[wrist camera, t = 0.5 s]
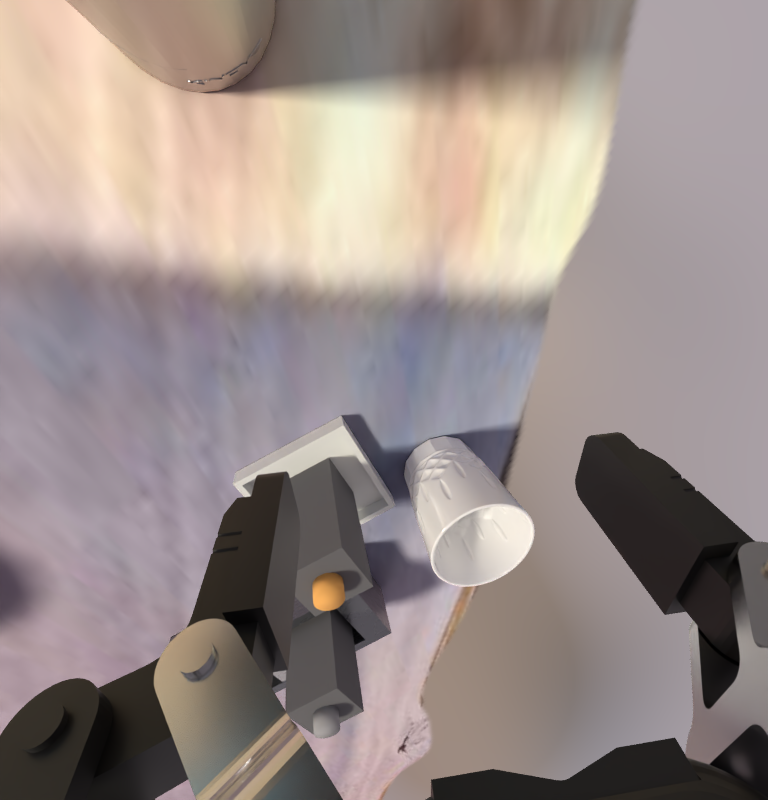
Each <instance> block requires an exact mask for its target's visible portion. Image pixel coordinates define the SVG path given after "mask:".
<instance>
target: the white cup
mask: <svg viewBox="0 0 768 800" xmlns="http://www.w3.org/2000/svg"><path fill="white" fill-rule="evenodd" d="M404 478H405V481H406V483H407V486H408V489H409V493H410V497H411V502H412V506H413V510H414V513H415V517H416V520H417V523H418V526H419V529H420V532H421V535H422V538H423V541H424V544H425V547H426V550H427V553H428V556H429V559H430V562H431V565H432V568H433V570H434V572H435V574H436V575H437V576H438V577H439V578H440V579H441V580H443V581H444V582H446V583H449V584H452V585H455V586H464V587H468V586H477V585H482V584H486V583H489V582H491V581H494V580H496V579H498V578H500V577H502V576H504V575H505V574H507V573H508V572H510V571H511V570H512V569H514V568H515V567H516V566H517V565H518V564H519V563H520V562H521V561H522V560H523V559H524V557H525V556H526V555H527V553H528V552H529V550H530V548H531V546H532V543H533V540H534V535H535V528H534V523H533V521H532V519H531V517H530V516H529V514H528V513H527V512H526V511H525V510H524V509H523V507H522V506H521V505H520V504H519V503H518V502H517V500H516V499H515V498H514V497H513V496H512V495H511V493H510V492H509V491H508V490H507V489H506V487H505V486H504V485H503V484H502V483H501V482H500V480H499V479H498V478H497V477H496V476H495V475H494V473H493V472H492V471H491V470H490V469H489V468H488V467H487V466H486V465H485V464H484V462H483V461H482V460H481V459H480V458H479V457H477V456H476V455H475V454H474V452H473V451H472V450H471V449H470V448H469V447H468V446H467V445H466V444H465V443H463V442H462V441H461V440H460V439H457V438H452V437H447V436H442V437H438V438H433V439H429V440H427V441H426V442H424V443H423V444H421V445H420V446H418V447H417V448H415V449H414V451H413V452H412V453H411V455H410V456H409V458H408V459H407V461H406V464H405V471H404Z"/></svg>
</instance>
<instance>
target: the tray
mask: <svg viewBox="0 0 768 800" xmlns="http://www.w3.org/2000/svg"><path fill="white" fill-rule="evenodd" d="M327 458H330V460H331V461H332V462H333V464H334V465H335V467H336V468H337V470H338V471H339V472H340V474H341V475H342V477H343V478H344V479H345V481H346V482H347V484H348V485H349V487H350V488H351V489H352V491H353V493H354V497H355V502H356V507H357V511H358V516H359V521H360V525H361V524H363V523H365V522H367V521H369V520H371V519H372V518H374V517H376V516H378V515H380V514H382V513H384V512H386V511H388V510H390V509H391V508H393V507H395V506H396V505H395V503H394V500H393V497H392V494H391V493H390V491H389V490H388V488H387V486H386V485H385V483H384V482H383V480H382V479H381V477H380V476H379V474H378V472H377V471H376V469H375V468H374V466H373V465H372V463H371V461H370V460H369V458H368V457H367V455H366V454H365V452H364V450H363V449H362V447H361V446H360V444H359V443H358V441H357V439H356V438H355V436H354V435H353V433H352V432H351V430H350V428H349V427H348V425H347V424H346V422H345V421H344V419H343V418H342V416H340V417H338V418H336V419H334V420H332V421H330V422H329V423H327V424H325V425H323V426H321V427H319V428H317V429H315V430H314V431H312V432H310V433H308V434H306V435H304V436H302V437H301V438H299V439H297V440H295V441H293V442H291V443H289V444H287V445H286V446H284V447H282V448H280V449H278V450H276V451H274V452H273V453H271V454H269V455H267V456H265V457H263V458H261V459H259V460H258V461H256V462H254V463H252V464H250V465H248V466H246V467H245V468H243V469H241V470H239V471H237V472H235V477H234V481H233V485H234V486H235V487H236V488H237V489H238V491H239V492H240V493H241V494H242V495H243V496H244V497H250V496H251V494H252V490H253V486H254V482H255V479H256V476H257V475H260V474H269V473H277V472H285V471H287V472H288V474H289V477H290V478H291V477H293V476H295V475H297V474H299V473H300V472H302V471H304V470H306V469H308V468H310V467H312V466H314V465H315V464H317V463H319V462H321V461H323V460H325V459H327Z"/></svg>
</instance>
